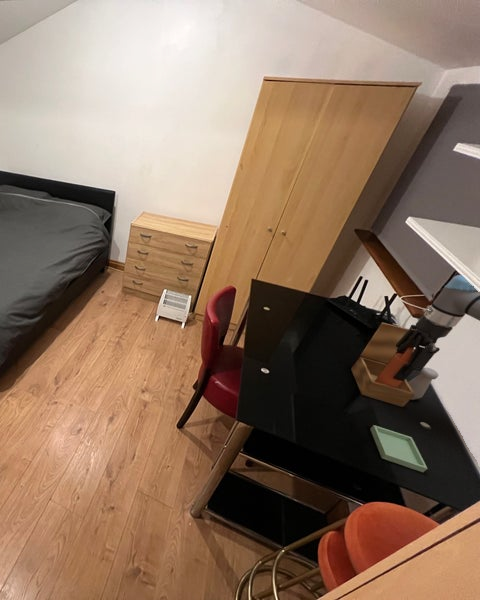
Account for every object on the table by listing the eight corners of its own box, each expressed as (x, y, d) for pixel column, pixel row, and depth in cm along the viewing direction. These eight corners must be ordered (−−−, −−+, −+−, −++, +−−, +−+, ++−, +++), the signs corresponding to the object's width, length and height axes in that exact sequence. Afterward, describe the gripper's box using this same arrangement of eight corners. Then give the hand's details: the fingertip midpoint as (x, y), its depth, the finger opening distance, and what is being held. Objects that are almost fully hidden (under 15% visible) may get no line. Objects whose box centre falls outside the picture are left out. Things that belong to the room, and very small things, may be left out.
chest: (402, 407, 115) (415, 394, 111) (361, 394, 118) (372, 382, 115) (388, 379, 126) (398, 367, 122) (350, 368, 130) (360, 356, 126)
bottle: (397, 393, 115) (428, 358, 106) (377, 388, 116) (406, 352, 107) (391, 382, 119) (420, 347, 110) (372, 377, 121) (399, 342, 112)
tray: (423, 472, 94) (427, 468, 93) (381, 458, 97) (385, 454, 96) (407, 441, 103) (411, 437, 102) (370, 428, 106) (373, 424, 105)
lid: (425, 333, 114) (423, 332, 115) (382, 323, 118) (382, 322, 119) (400, 366, 122) (399, 365, 123) (361, 356, 126) (360, 355, 126)
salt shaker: (401, 387, 123) (424, 362, 116) (420, 397, 119) (445, 373, 112) (396, 393, 120) (418, 368, 113) (415, 404, 116) (439, 379, 109)
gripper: (410, 303, 111) (373, 353, 123) (437, 334, 96) (391, 387, 108) (437, 309, 108) (396, 359, 121) (469, 342, 93) (419, 395, 106)
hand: (394, 372), depth 115 cm, fingers closed on bottle, 6 cm apart
